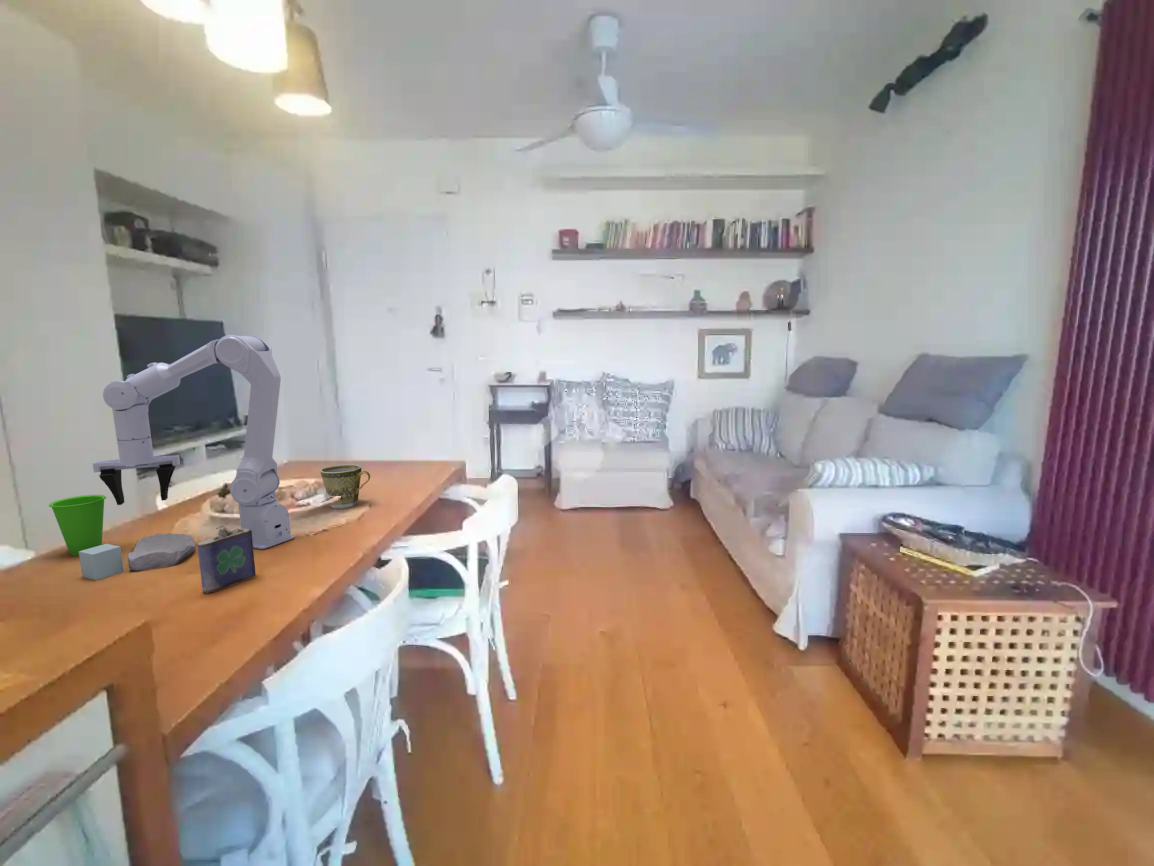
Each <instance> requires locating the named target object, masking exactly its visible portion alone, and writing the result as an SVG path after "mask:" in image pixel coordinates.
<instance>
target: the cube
mask: <svg viewBox="0 0 1154 866" xmlns="http://www.w3.org/2000/svg"><path fill="white" fill-rule="evenodd" d="M78 556H79V563H80V569H81V576H82V577H83V578H84V579H85V578H86V579H89V580H94V581H99V580H103V579H105V578H108V577H111V576H114V575H117V574H121V573H123V572H124V571H125V570H124V563H123V557H122V549H121V545H120V546H119V545H115V544H110V543H105V544H103V543H102V545H100V546H96V547H93V548H89V549H86V550H82V551H79V555H78Z"/></svg>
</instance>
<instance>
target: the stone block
mask: <svg viewBox="0 0 1154 866" xmlns="http://www.w3.org/2000/svg"><path fill="white" fill-rule="evenodd" d="M195 550H196V544H195V538H194V537H193V536H192V535H188V534H185V533H171V532H169V533H157V534H156V533H155V534H152V535H148V536H144V537H142V538H140V539H139V540H138V541H137V543H136V545H135V547H134V550H133V551H131V552H129V553H128V554H127V562H128V564H127V565H128V569H129V570H131V571H132V572H140V571H147V570H152V569H158V568H166V567H167V568H169V567H174V566H175V565H177V564H178V563H180V562H181V561H182V560H183V559H185V558H187V557H188V556H190V555H191V554H192V553H194V551H195Z"/></svg>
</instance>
